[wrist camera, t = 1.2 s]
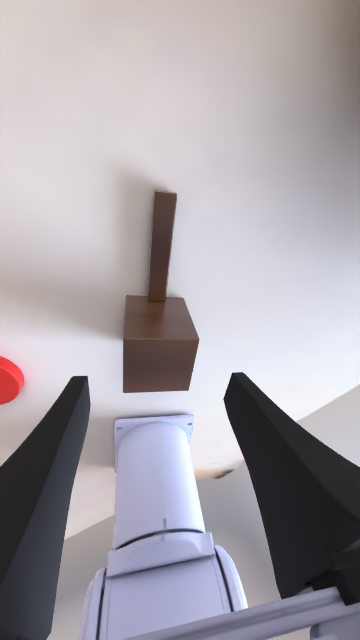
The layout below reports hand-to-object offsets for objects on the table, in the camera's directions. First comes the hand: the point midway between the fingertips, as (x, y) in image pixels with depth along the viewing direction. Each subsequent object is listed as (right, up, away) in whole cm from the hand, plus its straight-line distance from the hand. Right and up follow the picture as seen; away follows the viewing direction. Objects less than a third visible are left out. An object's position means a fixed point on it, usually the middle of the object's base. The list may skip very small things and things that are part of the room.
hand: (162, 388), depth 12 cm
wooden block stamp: (-1, +6, +4) cm, 7 cm away
